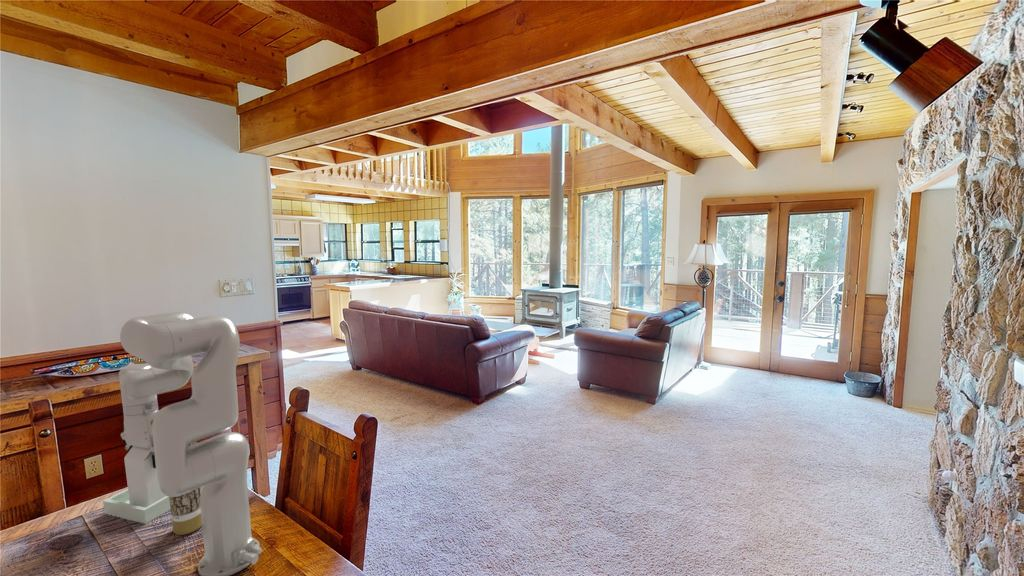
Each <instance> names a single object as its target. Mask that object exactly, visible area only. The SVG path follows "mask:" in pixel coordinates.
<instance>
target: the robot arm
mask: <svg viewBox="0 0 1024 576" xmlns="http://www.w3.org/2000/svg"><path fill="white" fill-rule="evenodd" d="M119 340H120V343H121V346H122V348H123V349H124V351H125V352H126V353H128V354H129V355H131V356H132V357H133V356H134V357H135V358H138V359H141V360H143V361H144V362H145V363H136V364H131V365H127V366H125V367H122V368H121V369H120V370H119V372H118V378H119V379H118V380H119V387H120V388H119V389H120V395H121V396H120V397H121V403H122V412H123V431H122V432H121V433H120V438H121V439H122V443H123V444H124V445H125V446H124V449H125V451H126V454H127V453H128V452H129V451H130V449H131V448H132V447H133V446H137V447H143V448H150V450H151V451H152V453H153V454H154V455H152V463H153V468H156V473H157V480H158V484H159V487H160V489H161V491H162V492H163V494H165V495H166V496H168V497H177V496H181V495H183V494H186V493H188V492H191V491H193V490H195V489H197V488H199V487H201V488H202V489H201V491H202V493H201V497H200V508H201V519H202V526H201V527H202V536H203V539H202V540H203V547H204V555H203V556H202V557H201V558H200V560H199V562H198V565H197V570H198V574H199V575H200V576H232V575H234V574H237V573H239V572H241V571H242V570H243V569H245V568H247V567H248V566H250V565H255V564H256V563H258V561H259V555H260V554H262V552H263V548H262V547H261V545H260V542H259V541H258V539H256V538H255V537H253V536H252V526H251V514H250V504H249V503H250V502H249V501H250V500H249V489H248V488H249V487H248V466H249V459H250V444H249V441H248V439H247V438H246V437H245V436H244V435H243V434H242V433H239V432H234V431H232V432H231V431H230V432H225V431H227V430H229V429H231V428H232V427H234V426H235V425H236V423H237V422H238V419H239V399H238V397H239V396H238V387H237V386H238V385H237V373H236V372H237V370H236V369H237V365H238V358H239V354H240V348H241V347H240V344H241V343H240V334H239V331H238V328H237V326H236V324H235V323H234V322H233V321H232V320H231V319H229V318H227V317H225V316H221V315H218V316H217V315H212V316H211V315H210V316H201V317H194V316H193V315H191V314H189V313H187V312H177V311H176V312H174V311H173V312H166V313H160V314H152V315H143V316H137V317H133V318H129V319H128V320H127V321H126V322H125V323H124V324H123V325H122V327H121V330H120V336H119ZM203 354H205V355H204V356H203V357H202V358H201V359H200V360H199V362H198V364H197V365H196V366H195V368H194V361H193V358H192V357H193V356H198V355H203ZM189 381H190V382H191V396H190V398H188V399H184V400H182V401H179V402H174V403H172V404H169V405H167V406H163V407H162V408H161V409H159V403H158V395H160V394H163V393H166V392H171V391H175V390H178V389H181V388H182V387H184V386H185V385H187V384H188V382H189ZM222 432H225V433H222ZM220 433H222V434H220ZM209 437H210V438H209ZM203 439H204V440H203ZM201 440H202V441H201ZM196 441H197V444H194V445H191V446H189V444H191V443H193V442H196ZM198 441H199V442H198ZM152 443H153V444H152Z"/></svg>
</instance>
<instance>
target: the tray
mask: <svg viewBox="0 0 1024 576" xmlns="http://www.w3.org/2000/svg"><path fill="white" fill-rule="evenodd" d="M102 503H103V510H104V512H103V513H104V514H105V515H107V514H108V516H111V515H112V517H115V516H116V518H119V517H120V519H124V520H128V521H132V522H136V523H141V524H145V525H147V524H149V523H150V522H151V521H153V520H155V519H157V518H158V517H160V516H162V515H164V514H165V513H167V512H168V511H171V508H170V499H169V497H168V496H165V497H164V498H162V499H160V500H158V501H157V502H155V503H153V504H151V505H149V506H148V507H146V508H145V507H141V506H136V505H132V504H130V502H129V493H128V488H126V489H123V490H122V491H120V492H118V493H115V494H113V495H112V496H110V497H108V498H105V499H104V500H103V501H102Z"/></svg>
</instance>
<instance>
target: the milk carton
mask: <svg viewBox="0 0 1024 576" xmlns="http://www.w3.org/2000/svg"><path fill="white" fill-rule="evenodd" d="M152 444H153V443H152ZM152 455H154V454H153V453H152V451H151V450H150V448H143V447H137V446H133V447H132V448H131V449H130V451H129V452H128V453H127V452H126V455H125V456H124V458H123V459H124V461H123V462H124V467H125V474H126V475H125V476H126V482H127V489H128V493H129V502H130V504H132V505H136V506H141V507H145V508H146V507H148V506H149V505H151V504H153V503H155V502H157V501H158V500H160V499H162V498H164V497H165V496H166V495H165V494H163V492H162V491H161V489H160V487H159V484H158V480H157V473H156V468H153V463H152Z"/></svg>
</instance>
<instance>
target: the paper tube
mask: <svg viewBox="0 0 1024 576" xmlns="http://www.w3.org/2000/svg"><path fill="white" fill-rule="evenodd" d="M197 443H198V441H196V442H193V443H191V444H189V446H191V445H194V444H197ZM201 493H202V487H199V488H197V489H195V490H193V491H191V492H188V493H186V494H183V495H181V496H177V497H169V499H170V508H171V509H170V515H171V517H170V518H171V524H172V531H173V533H174V534H175V535H178V536H183V535H188V534H191V533H194V532H196V531H197V530H199V529H200V528H201V527H202V519H201V508H200V497H201Z"/></svg>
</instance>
